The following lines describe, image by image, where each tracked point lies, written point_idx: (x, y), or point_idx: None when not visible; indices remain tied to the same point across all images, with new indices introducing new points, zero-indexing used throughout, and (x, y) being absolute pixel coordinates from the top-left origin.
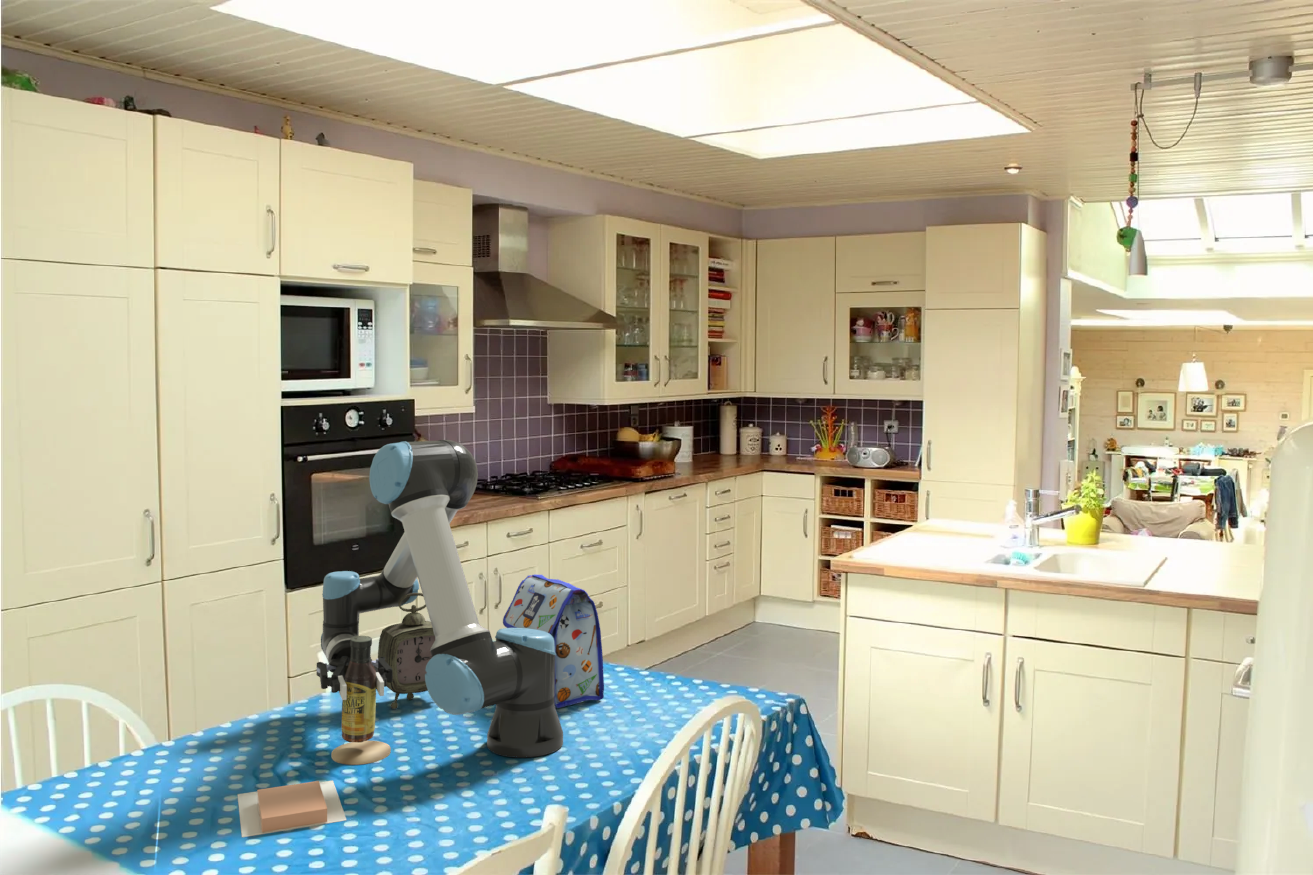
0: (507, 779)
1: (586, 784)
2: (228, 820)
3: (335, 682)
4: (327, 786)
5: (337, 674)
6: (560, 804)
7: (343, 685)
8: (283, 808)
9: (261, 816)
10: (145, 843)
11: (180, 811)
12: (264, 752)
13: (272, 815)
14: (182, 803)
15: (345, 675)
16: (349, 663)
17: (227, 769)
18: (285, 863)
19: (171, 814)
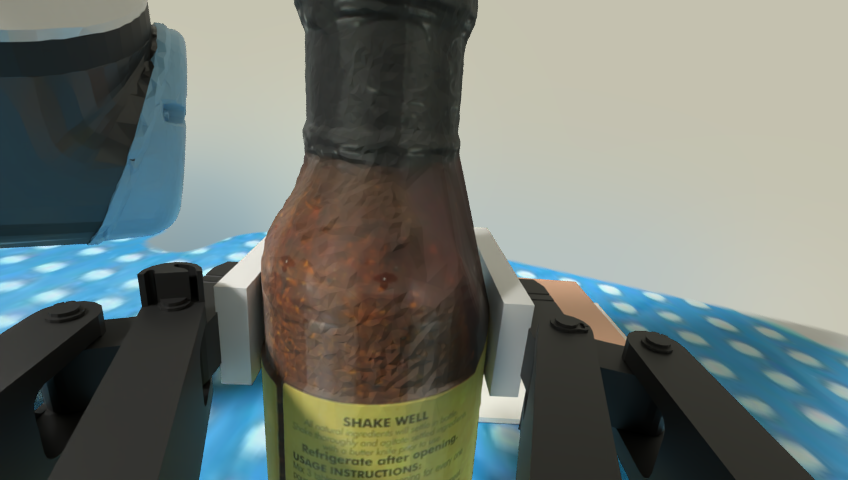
0: (120, 312)
1: (42, 266)
2: None
3: (535, 295)
4: (488, 393)
5: (548, 341)
6: (151, 248)
7: (483, 230)
8: (551, 291)
9: (578, 286)
10: (747, 337)
11: (793, 411)
12: None
13: (562, 283)
14: (831, 446)
15: (478, 257)
16: (461, 175)
17: None
18: (520, 263)
19: (801, 405)
